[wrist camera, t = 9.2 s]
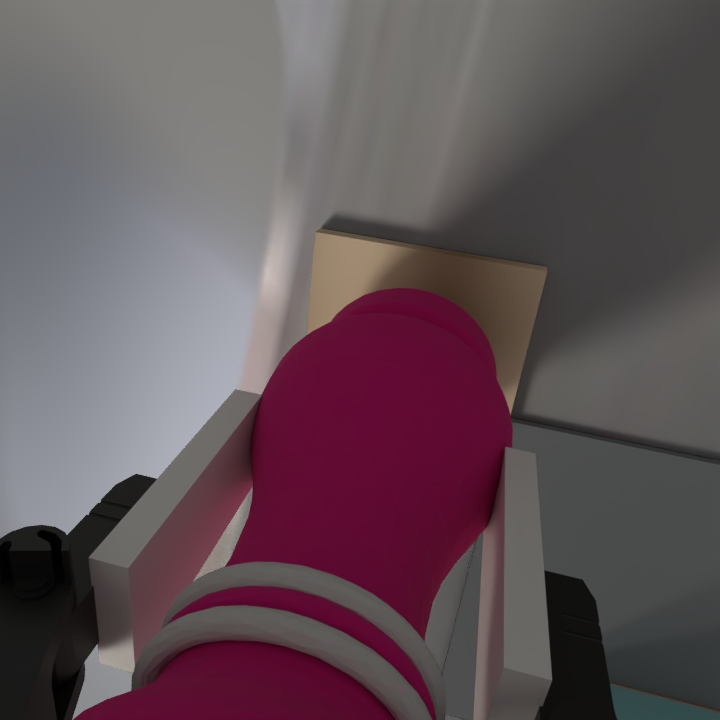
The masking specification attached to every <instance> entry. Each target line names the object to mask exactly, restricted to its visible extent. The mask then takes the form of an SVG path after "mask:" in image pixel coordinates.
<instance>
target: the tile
mask: <svg viewBox="0 0 720 720" xmlns="http://www.w3.org/2000/svg"><path fill="white" fill-rule="evenodd" d="M610 688H611V693H612V699H613V705H614V710H615V714H616V717H617V720H720V711H716V710H712V709H708V708H704V707H701V706H697V705H693V704H689V703H685V702H682V701H678V700H674V699H670V698H666V697H662V696H659V695H655V694H651V693H647V692H643V691H640V690H636V689H632V688H628V687H624V686H620V685H617V684H613V683H610Z"/></svg>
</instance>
